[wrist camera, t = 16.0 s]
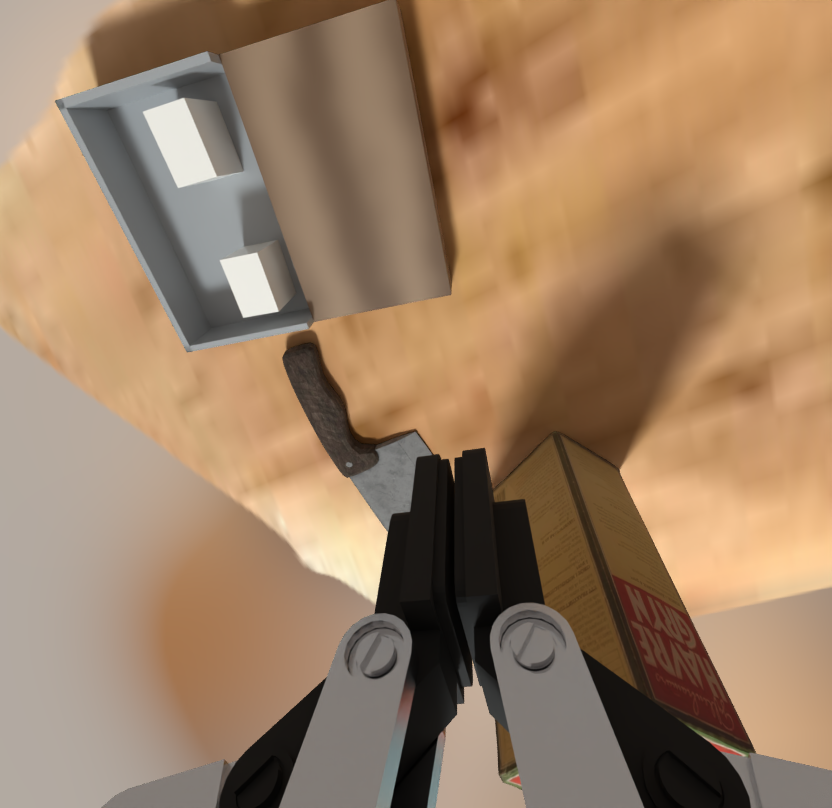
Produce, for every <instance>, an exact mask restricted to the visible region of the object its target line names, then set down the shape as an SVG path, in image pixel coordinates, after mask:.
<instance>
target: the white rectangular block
mask: <svg viewBox="0 0 832 808" xmlns="http://www.w3.org/2000/svg"><path fill="white" fill-rule="evenodd" d="M143 114H144V116H145V118H146V120H147V122H148V125H149V127H150V129H151V131H152V133H153V135H154V137H155V140H156V142H157V144H158V146H159V148H160V150H161V153H162V155H163V157H164V159H165V161H166V163H167V165H168V168H169V170H170V172H171V174H172V176H173V178H174V181H175V183H176V185H177V187H178V188H181V187H186V186H191V185H195V184H200V183H205V182H210V181H213V180H216V179H220V178H223V177H227V176H230V175H233V174H237V173H240V172H244V170H243V168H242V165H241V162H240V160H239V157H238V155H237V152H236V150H235V147H234V145H233V142H232V139H231V137H230V134H229V132H228V129H227V127H226V124H225V122H224V119H223V116H222V114H221V111H220V109H219V106H218V104H217V102H215V101H207V100H199V99H190V98H182V99H179V100H176V101H173V102H170V103H167V104H164V105H161V106H158V107H155V108H152V109H149V110H146V111H143Z"/></svg>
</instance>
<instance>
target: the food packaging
mask: <svg viewBox="0 0 832 808" xmlns="http://www.w3.org/2000/svg"><path fill="white" fill-rule="evenodd" d="M493 494H494V500H495V502H501V501H509V500H518V499H525V502H526V507H527V512H528V517H529V522H530V528H531V533H532V538H533V543H534V549H535V554H536V559H537V564H538V570H539V575H540V580H541V585H542V591H543V596H544V601H545V605H546V606H548V607H550V608H552V609H553V610H555V611H557V612H558V613H559V614H560V615H561V616H562V617H564V618H565V619H566V620H567V622H568V624H569V625H570V627H571V629H572V630H573V632H574V635H575V637H576V640H577V642H578V645H579V647H580V648H581V649H582V650H583V651H585V652H586V653H587V654H589V655H590V656H592V657H593V658H594V659H596V660H597V661H598V662H600V663H601V664H603V665H604V666H605V667H607V668H608V669H609V670H611V671H612V672H614V673H615V674H616V675H618V676H619V677H620V678H622V679H623V680H625V681H626V682H627V683H629V684H630V685H631V686H633V687H634V688H636V689H637V690H638V691H640V692H641V693H643V694H644V695H645V696H647V697H648V698H649V699H651V700H652V701H654V702H655V703H656V704H658V705H659V706H660V707H662V708H663V709H665V710H666V711H667V712H669V713H670V714H671V715H673V716H674V717H676V718H677V719H678V720H680V721H681V722H682V723H684V724H685V725H687V726H688V727H689V728H691V729H692V730H693V731H695V732H696V733H698V734H699V735H700V736H702V737H703V738H704V739H706V740H707V741H709V742H710V743H711V744H712V745H713V746H714V747H716V748H717V749H718V750H719V751H721V752H726V753H730V754H735V755H739V756H743V757H748V755H749V752H750V753H755V754H756V751H755V749H754V747H753V745H752V743H751V741H750V739H749V737H748V735H747V733H746V731H745V729H744V727H743V725H742V723H741V720H740V718H739V716H738V714H737V712H736V710H735V708H734V706H733V704H732V702H731V700H730V698H729V696H728V694H727V692H726V690H725V688H724V686H723V683H722V681H721V679H720V677H719V675H718V673H717V671H716V669H715V667H714V665H713V663H712V661H711V659H710V657H709V655H708V653H707V651H706V649H705V647H704V645H703V643H702V641H701V639H700V637H699V635H698V633H697V631H696V629H695V627H694V625H693V622H692V621H691V618H690V616H689V614H688V612H687V610H686V608H685V606H684V604H683V602H682V600H681V598H680V596H679V594H678V592H677V590H676V588H675V586H674V583H673V581H672V579H671V577H670V575H669V573H668V571H667V569H666V567H665V565H664V563H663V561H662V559H661V557H660V555H659V553H658V551H657V549H656V547H655V544H654V542H653V540H652V538H651V536H650V534H649V532H648V530H647V528H646V526H645V524H644V522H643V520H642V518H641V516H640V514H639V512H638V510H637V508H636V506H635V504H634V502H633V500H632V498H631V496H630V494H629V492H628V490H627V488H626V485H625V483H624V481H623V479H622V477H621V475H620V470H619V469H618V468H617V467H615V466H614V465H613V464H611V463H610V462H608V461H607V460H605V459H603V458H601V457H600V456H598V455H596V454H595V453H593V452H592V451H590V450H588V449H587V448H585V447H584V446H582V445H580V444H579V443H577V442H575V441H574V440H572V439H570V438H569V437H567V436H566V435H564V434H562V433H559V432H553V433H552V434H551V435H550V436H548V437H547V438H546V439H545V440H544V441H543V442H542V443H541V444H540V445H539V446H538V447H537V448H536V449H535V450H534V451H533V452H532V453H531V454H530V455H529V456H528V457H527V458H526V459H525V460H524V461H523V462H522V463H521V464H520V465H519V466H518V467H517V468H516V469H515V470H514V471H513V472H512V473H511V474H510V475H509V476H508V477H507V478H506V479H505V480H503V481H502V482H501V483H500V484H499V485H497V487H496V488H495V489H494V490H493ZM495 724H496V736H497V750H498V771H499V776H500V778H501V779H502V781H503V783H506V784H509V785H512V786H515V787H517V788H519V789H521V790H522V786H521V782H520V777H519V773H518V768H517V764H516V759H515V755H514V750H513V746H512V742H511V737H510V733H509V732H508V731H507V730H506V729H505V728H504V727H503V726H502V725H501V724H500V723H499V722H498V721H497V720H496V719H495Z"/></svg>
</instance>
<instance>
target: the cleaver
mask: <svg viewBox="0 0 832 808" xmlns="http://www.w3.org/2000/svg"><path fill="white" fill-rule="evenodd" d="M283 363H284V367H285V369H286V372H287V375H288V377H289V380H290V382H291V385H292V387H293V389H294V391H295V393H296V395H297V398H298V400H299V402H300V404H301V406H302V408H303V410H304V412H305V414H306V415H307V417H308V419H309V421H310V423H311V425H312V427H313V429H314V430H315V432H316V434H317V436H318V438H319V440H320V441H321V443H322V445H323V446H324V448H325V450H326V451H327V453H328V454H329V456H330V457H331V459H332V460H333V462H334V463H335V465H336V466H337V468H338V469H339V471H340V472H341V473H342V474H343V475H344V476H345V477H347V478H348V477H350V479H351V480H352V481H353V483H354V484H355V486H356V487H357V489H358V490H359V492H360V493H361V495H362V496H363V497H364V499H365V500H366V502H367V503H368V505H369V506H370V508H371V509H372V510H373V512H374V513H375V515H376V516H377V518H378V519H379V521H380V522H381V523H382V525H383V526H384V527H385V529H386V530H387V531H388V530H389V524H390V519H391V516H392V514H394V513H403V512H410V508H411V500H412V491H413V483H414V474H415V466H416V459H417V457H421V456H428V455H432V453H431V452H430V450H429V449H428V448H427V446H426V445H425V444H424V442H423V441H422V440H421V438H420V437H419V436H418V434H417V433H416V432H412V433H409V434H405V435H402V436H399V437H396V438H393V439H391V440H388V441H386V442H383V443H381V444H378V445H375V444H361V443H360V442H358V441H356V440H355V439H354V437H353V436H352V434H351V433H350V430H349V427H348V422H347V416H346V410H345V407H344V404H343V402H342V400H341V399H340V397H339V396H338V394H337V393H336V392H335V391H334V389H333V388H332V387H331V386H330V384H329V383H328V381H327V380H326V378H325V376H324V374H323V371H322V367H321V364H320V359H319V355H318V351H317V348H316V346H315V345H314V344H312V343H307V344H303V345H299V346H296V347H293V348H290V349H288V350H286V351H285V353H284V355H283Z"/></svg>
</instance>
